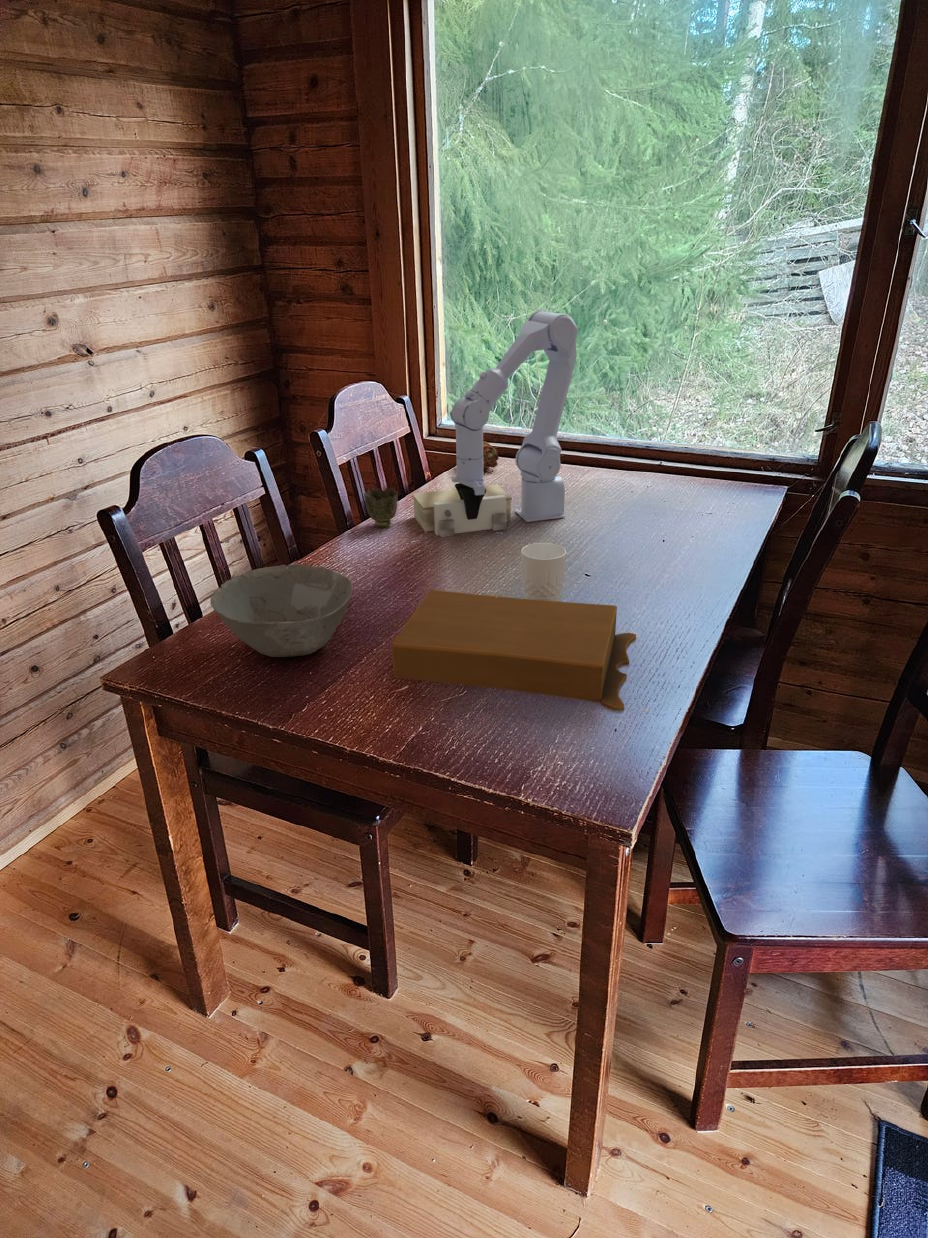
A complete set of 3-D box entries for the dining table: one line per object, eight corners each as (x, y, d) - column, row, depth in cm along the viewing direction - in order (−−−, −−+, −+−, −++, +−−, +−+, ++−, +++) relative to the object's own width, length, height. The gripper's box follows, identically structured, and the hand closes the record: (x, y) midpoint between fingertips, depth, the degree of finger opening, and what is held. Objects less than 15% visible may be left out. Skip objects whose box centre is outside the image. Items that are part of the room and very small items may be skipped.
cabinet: (497, 507, 198) (497, 484, 195) (518, 527, 185) (518, 503, 183) (413, 516, 193) (412, 493, 190) (429, 538, 180) (428, 514, 178)
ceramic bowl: (296, 695, 124) (289, 636, 119) (190, 657, 135) (179, 601, 131) (386, 635, 141) (382, 581, 136) (284, 605, 152) (278, 554, 147)
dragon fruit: (499, 479, 223) (461, 480, 228) (508, 454, 226) (470, 456, 232) (487, 459, 216) (448, 460, 222) (497, 433, 219) (457, 435, 225)
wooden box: (432, 585, 144) (638, 603, 136) (434, 619, 147) (636, 638, 139) (387, 649, 124) (625, 674, 116) (390, 686, 127) (623, 713, 119)
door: (503, 524, 187) (503, 494, 184) (508, 528, 185) (508, 498, 182) (434, 533, 183) (433, 502, 180) (438, 537, 181) (437, 506, 178)
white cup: (568, 595, 153) (570, 545, 149) (558, 614, 146) (560, 561, 142) (526, 590, 155) (527, 540, 151) (515, 608, 149) (515, 556, 144)
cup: (402, 520, 191) (400, 486, 187) (396, 531, 184) (394, 497, 181) (370, 520, 192) (367, 486, 188) (363, 531, 185) (360, 496, 182)
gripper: (442, 449, 182) (444, 508, 189) (461, 467, 170) (462, 530, 176) (473, 446, 184) (474, 505, 190) (494, 463, 172) (494, 526, 178)
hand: (470, 517), depth 183 cm, fingers closed on door, 2 cm apart
